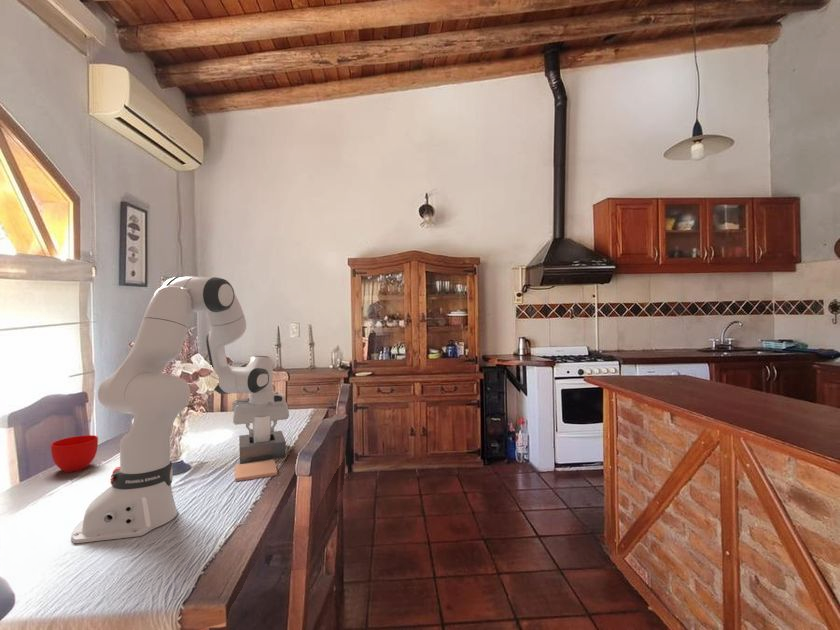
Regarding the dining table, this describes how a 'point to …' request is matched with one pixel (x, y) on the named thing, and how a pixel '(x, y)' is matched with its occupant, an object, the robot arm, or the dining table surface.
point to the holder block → (262, 448)
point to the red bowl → (74, 452)
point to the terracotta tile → (255, 470)
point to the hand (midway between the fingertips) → (261, 433)
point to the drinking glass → (262, 429)
